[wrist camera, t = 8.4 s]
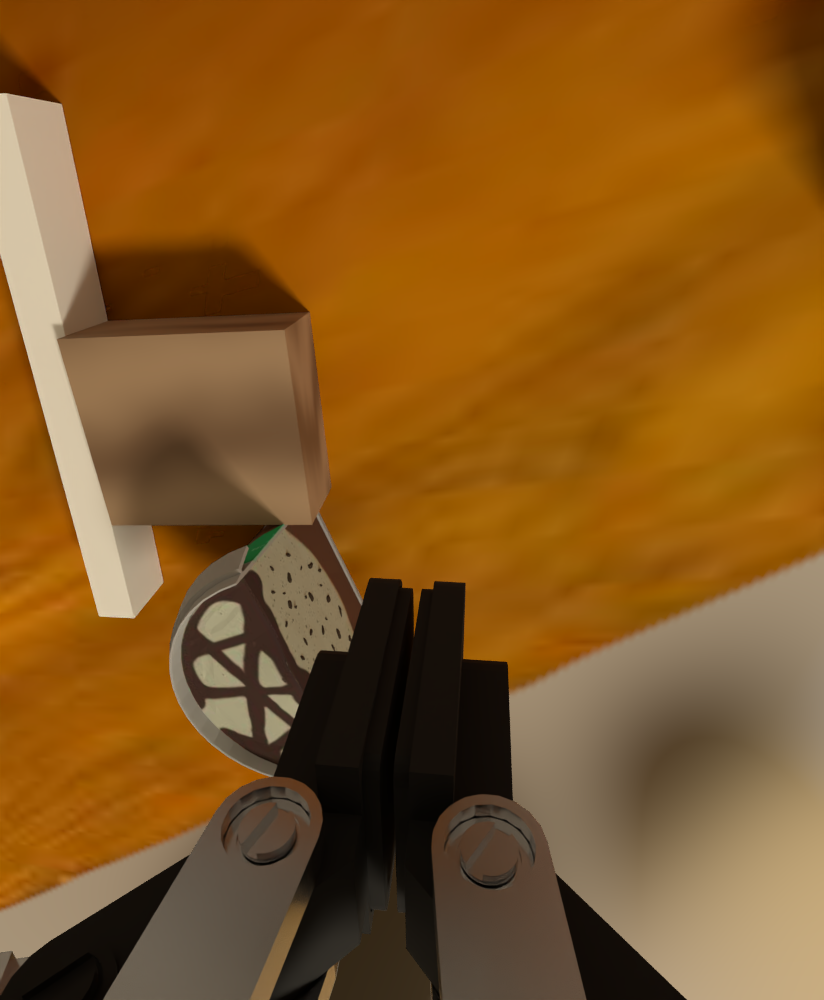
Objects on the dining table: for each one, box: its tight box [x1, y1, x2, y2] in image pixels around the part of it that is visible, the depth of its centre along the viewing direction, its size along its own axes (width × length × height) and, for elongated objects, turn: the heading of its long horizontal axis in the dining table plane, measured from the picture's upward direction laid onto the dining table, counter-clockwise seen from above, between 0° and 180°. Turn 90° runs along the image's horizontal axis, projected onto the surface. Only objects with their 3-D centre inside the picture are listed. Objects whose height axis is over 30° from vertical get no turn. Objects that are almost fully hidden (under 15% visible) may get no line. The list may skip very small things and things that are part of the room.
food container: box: [170, 512, 363, 777], centre depth 32 cm, size 12×6×10 cm, turn 21°
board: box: [0, 93, 163, 618], centre depth 31 cm, size 24×2×4 cm, turn 0°
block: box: [57, 312, 331, 526], centre depth 31 cm, size 9×10×4 cm
